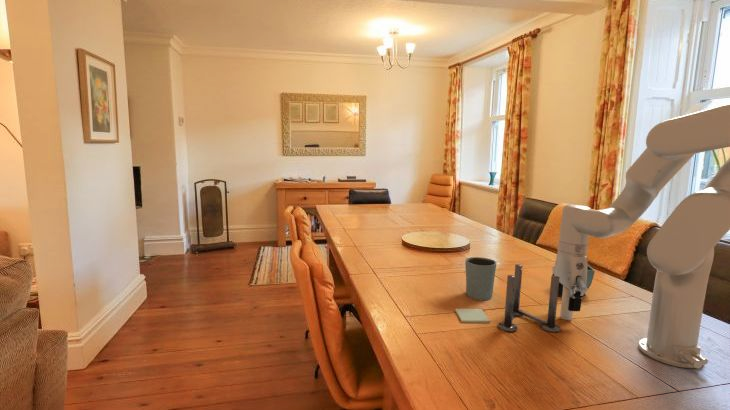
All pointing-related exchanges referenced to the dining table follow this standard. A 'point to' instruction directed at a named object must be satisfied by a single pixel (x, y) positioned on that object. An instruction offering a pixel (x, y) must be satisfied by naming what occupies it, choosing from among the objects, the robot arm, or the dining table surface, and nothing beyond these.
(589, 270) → the flower pot
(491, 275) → the grey teal cup
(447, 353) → the dining table surface
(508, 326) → the upright post stand
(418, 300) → the dining table surface
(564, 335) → the dining table surface
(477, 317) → the pad
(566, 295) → the dowel
